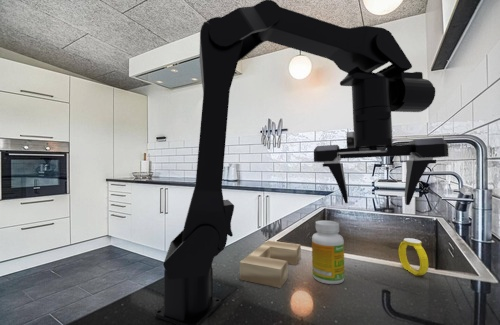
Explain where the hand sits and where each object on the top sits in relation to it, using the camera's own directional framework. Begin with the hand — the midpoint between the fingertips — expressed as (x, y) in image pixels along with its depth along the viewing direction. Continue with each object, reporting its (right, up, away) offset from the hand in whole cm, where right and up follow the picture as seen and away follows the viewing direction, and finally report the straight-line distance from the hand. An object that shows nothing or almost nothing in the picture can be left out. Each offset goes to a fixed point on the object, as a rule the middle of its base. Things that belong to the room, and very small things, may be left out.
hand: (375, 203), depth 40 cm
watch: (+9, -14, +5) cm, 17 cm away
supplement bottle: (-7, -14, +2) cm, 16 cm away
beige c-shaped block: (-16, -14, +7) cm, 22 cm away
